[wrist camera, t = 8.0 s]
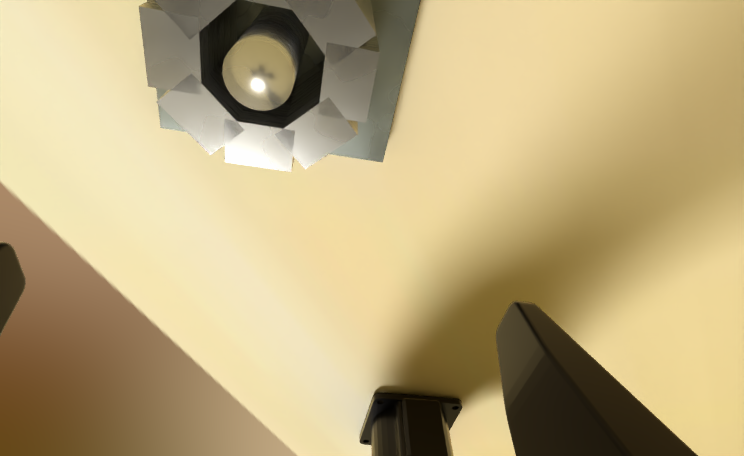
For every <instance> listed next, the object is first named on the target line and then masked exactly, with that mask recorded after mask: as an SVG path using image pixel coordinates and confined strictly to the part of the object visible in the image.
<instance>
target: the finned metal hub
mask: <svg viewBox="0 0 744 456" xmlns="http://www.w3.org/2000/svg"><path fill="white" fill-rule="evenodd" d="M148 1H150V0H147V2H148ZM370 1H371V5H372V11H373V16H374V21H375V27H376V33H377V39H378V45H379V51H380V54H379V59H378V64H377V69H376V74H375V80H374V85H373V90H372V95H371V100H370V105H369V110H368V116H367V121H366V123H364V122H358V135H357V136H355V137H354V138H352V139H351V140H349V141H348V142H346V143H345V144H343V145H342V146H340V147H338V148H337V149H335V150H334V151H332V152H331V153H329V154H332V155H339V156H345V157H352V158H358V159H365V160H371V161H377V162H383V159H384V155H385V150H386V146H387V142H388V138H389V133H390V129H391V125H392V120H393V116H394V112H395V107H396V103H397V99H398V95H399V90H400V86H401V82H402V77H403V73H404V69H405V64H406V60H407V56H408V52H409V47H410V43H411V39H412V34H413V30H414V26H415V21H416V17H417V13H418V9H419V4H420V0H370ZM324 59H325V55H324V53H323V52H322V50H321V49H320V48H319V46H318V45H317V43H316V42H315V41H314V39H313V38H312V37H311V35H310V34H309V32H308V31H307V30H306V28H305V27H304V25H303V24H302V23H301V21H300V20H299V19H298V17H297V16H296V14H295V13H294V12H293V10H291V9H286V8H281V7H276V6H271V5H266V4H261V3H256V2H251V1H246V0H237V42H236V43H235V44H234V46H233V47H232V48H231V49H230V51H229V52H228V53H227V55H226V57H225V59H224V62H223V69H222V73H223V79H224V82H225V85H226V87H227V89H228V91H229V92H230V94H231V95H232V96H233V97H234V98H235V99H236V100H237V101H238V102H239V103H241V104H242V105H244V106H246V107H248V108H251V109H254V110H260V111H266V110H272V109H275V108H277V107H279V106H281V105H282V104H283V103H284V102H285V101H286V100H287V99H288V97H289V96H290V94H291V92H292V89H293V85H294V82H295V79H296V77H297V78H299V77H301V76H302V75H303V74H305V73H306V72H307V71H309V70H310V69H311V68H313V67H314V66H315V65H317V64H318V63H319V62H321V61H322V60H324ZM167 91H168V90H167V89H161V88H157V98H158V100H159V99H160V98H161V97H162V96H163V95H164V94H165V93H166V92H167ZM158 107H159V117H160V126H161V128H165V129H171V130H177V131H184V132H187V131H185V130H184V129H183V128H182V127H181V126H180V125H179V124H178V123H177V122H176V121H175V120H174V119H173V118H172V117H171V116H170V115H169V114H168V113H167V112H166V111H165V110H164V109H163V108H162V107H161V106H160V105H159V104H158Z"/></svg>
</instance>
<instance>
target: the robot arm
mask: <svg viewBox="0 0 744 456" xmlns="http://www.w3.org/2000/svg"><path fill="white" fill-rule="evenodd" d="M24 288H25V276H24V273H23V270H22V268H21V265H20V263H19V260H18V257H17V255H16V252H15V250H14V248H13V247H12V246H11V245H10V244H9V243H5V242H0V335H1V333H2V331H3V329H4V327H5V326H6V324H7V322H8V320H9V318H10V316H11V314H12V312H13V311H14V308H15V306H16V305H17V303H18V301H19V299H20V297H21V295H22V293H23V291H24ZM496 343H497V351H498V358H499V366H500V374H501V382H502V389H503V397H504V404H505V410H506V415H507V420H508V425H509V429H510V433H511V437H512V441H513V445H514V449H515V454H516V456H698V455H697V454H696V453H694V452H693V451H692V450H691V449H690V448H689V447H688V446H687V445H686V444H685V443H684V442H683V441H682V440H681V439H679V438H678V437H677V436H676V435H675V434H674V433H673V432H672V431H671V430H670V429H669V428H668V427H667V426H666V425H664V424H663V423H662V422H661V421H660V420H659V419H658V418H657V417H656V416H655V415H654V414H653V413H652V412H650V411H649V410H648V409H647V408H646V407H645V406H644V405H643V404H642V403H641V402H640V401H639V400H638V399H637V398H635V397H634V396H633V395H632V394H631V393H630V392H629V391H628V390H627V389H626V388H625V387H624V386H623V385H621V384H620V383H619V382H618V381H617V380H616V379H615V378H614V377H613V376H612V375H611V374H610V373H609V372H608V371H606V370H605V369H604V368H603V367H602V366H601V365H600V364H599V363H598V362H597V361H596V360H595V359H594V358H593V357H591V356H590V355H589V354H588V353H587V352H586V351H585V350H584V349H583V348H582V347H581V346H580V345H579V344H577V343H576V342H575V341H574V340H573V339H572V338H571V337H570V336H569V335H568V334H567V333H566V332H565V331H564V330H562V329H561V328H560V327H559V326H558V325H557V324H556V323H555V322H554V321H553V320H552V319H551V318H550V317H549V316H547V315H546V314H545V313H544V312H543V311H542V310H541V309H540V308H539V307H538V306H537V305H535V304H534V303H530V302H521V301H514V302H512V303H511V304H510V305H509V307H508V309H507V311H506V313H505V315H504V317H503V318H502V320H501V322H500V324H499V326H498V328H497V332H496ZM461 409H462V403H461V400H459V399H451V398H438V397H426V396H413V395H400V394H387V393H377V394H375V395H374V396H373V398H372V401H371V404H370V407H369V410H368V413H367V416H366V419H365V422H364V425H363V428H362V430H361V433H360V443H361V444H365V445H371V446H372V456H453V450H452V445H451V439H450V433H449V430H450V428H451V427H452V425H453V423H454V422H455V420H456V418H457V416H458V415H459V413H460V411H461Z"/></svg>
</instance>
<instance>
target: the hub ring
mask: <svg viewBox="0 0 744 456" xmlns="http://www.w3.org/2000/svg"><path fill="white" fill-rule="evenodd" d="M246 1H251V2H256V3H261V4H266V5H271V6H276V7H281V8H286V9H291V10H293V12H294V13H295V14H296V16H297V17H298V19H299V20H300V21H301V23H302V24H303V25H304V27H305V28H306V30H307V31H308V32H309V34H310V35H311V37H312V38H313V39H314V41H315V42H316V43H317V45H318V46H319V48H320V49H321V50H322V52H323V53H324V55H325V59H324V60H322V61H321V62H319V63H318V64H317V65H315V66H314V67H313V68H311V69H310V70H309V71H307V72H306V73H305V74H303V75H302V76H301V77H299V78H297V77H296V79H295V82H294V85H293V89H292V92H291V94H290V96H289V97H288V99H287V100H286V101H285V102H284V103H283V104H282V105H281V106H279V107H277V108H275V109H272V110H266V111H260V110H254V109H251V108H248V107H246V106H244V105H242V104H241V103H239V102H238V101H237V100H236V99H235V98H234V97H233V96H232V95H231V94H230V92H229V91H228V89H227V87H226V85H225V82H224V79H223V73H222V69H223V62H224V59H225V57H226V55H227V53H228V52H229V51H230V49H231V48H232V47H233V46H234V44H235V43H236V42H237V0H150V1H148V2H146V3H144V4H142V5H140V6H139V12H140V21H141V29H142V38H143V46H144V55H145V63H146V72H147V80H148V86H149V87H155V88H161V89H167V90H168V91H167V92H166V93H165V94H164V95H163V96H162V97H161V98H160V99H159V100H158V101H157V103H158V104H159V105H160V106H161V107H162V108H163V109H164V110H165V111H166V112H167V113H168V114H169V115H170V116H171V117H172V118H173V119H174V120H175V121H176V122H177V123H178V124H179V125H180V126H181V127H182V128H183V129H184V130H185V131H187V132H188V133H189V134H190V135H191V136H192V137H193V138H194V139H195V140H196V141H197V142H198V143H199V144H200V145H201V146H202V147H203V148H204V149H205V150H206V151H207V152H208V153H209V154H210V155H212V154H213V153H214V152H216V151H217V150H219V149H220V148H221V147H223V146H224V145H225V162H227V163H233V164H240V165H247V166H254V167H261V168H267V169H274V170H281V171H288V172H291V171H292V166H293V162H294V157H295V158H296V160H297V161H298V162H299V163H300V164H301V165H302V166H303V167H304V169H306V168H308V167H309V166H311V165H312V164H314V163H315V162H317V161H318V160H320V159H322V158H323V157H325V156H326V155H328V154H329V153H331V152H332V151H334V150H335V149H337V148H338V147H340V146H342V145H343V144H345V143H346V142H348V141H349V140H351V139H352V138H354V137H355V136H357V135H358V122H364V123H366V121H367V116H368V110H369V105H370V100H371V95H372V90H373V85H374V80H375V74H376V69H377V64H378V59H379V54H380V51H379V45H378V39H377V33H376V27H375V21H374V16H373V11H372V5H371V1H370V0H246Z"/></svg>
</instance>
